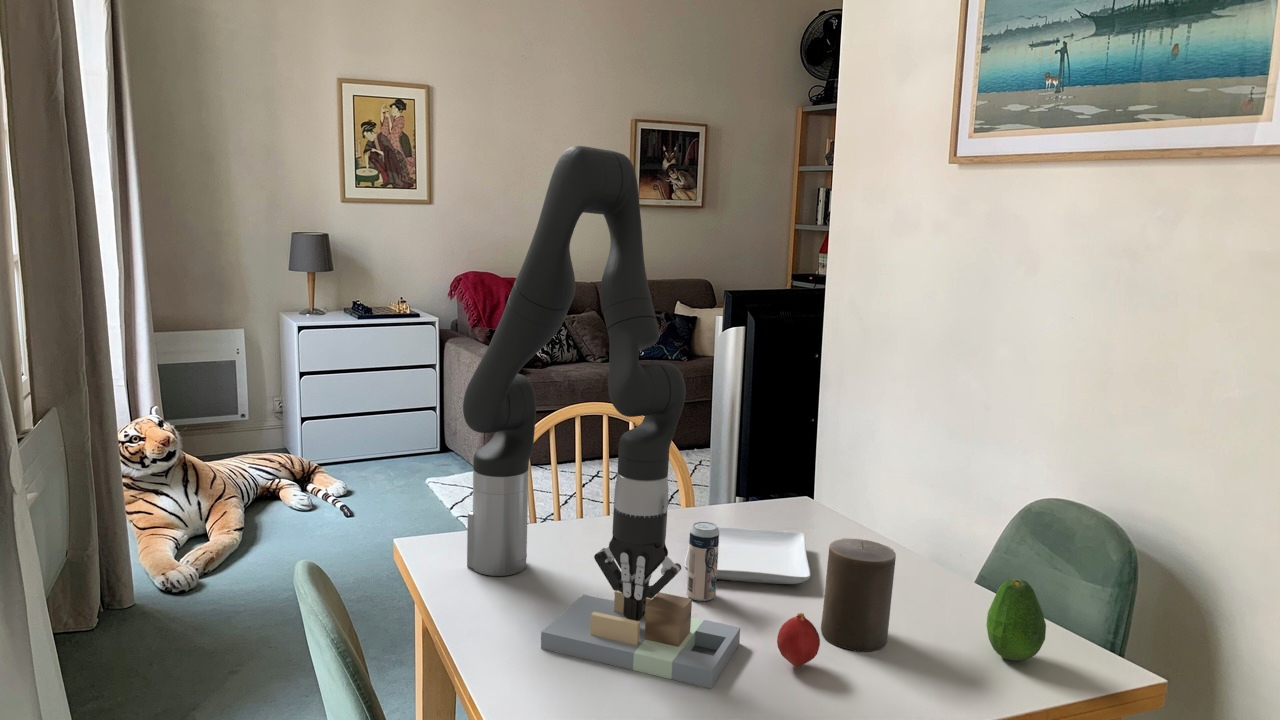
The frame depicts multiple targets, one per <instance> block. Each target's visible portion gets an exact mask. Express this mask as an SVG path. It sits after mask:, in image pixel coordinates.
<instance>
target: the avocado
mask: <svg viewBox="0 0 1280 720" xmlns="http://www.w3.org/2000/svg"><path fill="white" fill-rule="evenodd" d="M1041 607H1042V606H1041V605H1040V603H1039V600H1038V597H1037V594H1036V593H1035V590H1034V589H1033V588H1032V586H1031V585H1030V583H1029V582H1028V581H1026V580H1022V579H1019V578H1015V577H1014V578H1010V579H1008V580H1006V581H1004V582H1003V583H1002V584H1001V585H1000V586H999V588H998V589H997V591H996V593H995V596H994V598H993V601H992V602H991V605H990V606H989V609H988V611H987V616H986V617H987V619H986V630H987V631H986V632H987V636H988V637H987V638H988V641H989V642H990V645H991V647H992V649H993V650H994V651H995V653H997V655H999V656H1000V657H1002V658H1003V659H1005V660H1010V661H1016V662H1020V661H1026V660H1029V659H1031V658H1034V656H1035V655H1036V654H1038V652H1040V650H1041V648H1042V647H1043V645H1044V642H1045V641H1046V632H1047V624H1046V619H1045V618H1044V617H1045V616H1044V613H1043V610H1042V608H1041Z"/></svg>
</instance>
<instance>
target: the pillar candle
mask: <svg viewBox="0 0 1280 720" xmlns="http://www.w3.org/2000/svg"><path fill="white" fill-rule="evenodd" d="M828 545H829V547H828V555H827V556H828V557H827V568H826V576H825V588H824V597H823V608H822V614H821V622H820V623H821V624H820V631H821V635H822V637H823V638H824V639H825V640H826V641H828V642H829V643H830V644H832V645H835V646H837V647H839V648H843V649H846V650H849V651H854V652H874V651H877V650H881V649H883V648H885V647H886V645H887V642H888V637H889V636H888V635H889V628H890V627H889V626H890V619H891V618H890V617H891V608H892V607H891V606H892V597H893V589H894V579H895V577H894V575H895V568H896V567H895V566H896V558H897V557H896V556H897V554H896V552H895V551H894V550H895V549H893V548H891V547H890V546H889V545H885V544H882V543H880V542H877V541H873V540H868V539H863V538H862V539H861V538H850V537H849V538H848V537H844V538H840V539H836V540H833V541H831V542H830V544H828Z"/></svg>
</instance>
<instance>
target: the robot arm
mask: <svg viewBox="0 0 1280 720" xmlns="http://www.w3.org/2000/svg"><path fill="white" fill-rule="evenodd" d="M545 193H546V194H545V196H544V197H545V198H544V201H543V205H542V208H541V211H540V214H539V215H540V216H539V218H538V223H537V226H536V227H535V231H534V234H533V236H532V239H531V242H530V244H529V246H528V247H529V248H528V250H527V252H526V256H525V258H524V261H523V263H522V265H521V267H520V270H519V272H518V274H517V276H516V278H515V280H514V283H513V286H512V288H511V291H510V293H509V296H508V299H507V301H506V304H505V307H504V310H503V313H502V315H501V317H500V319H499V322H498V324H497V326H496V328H495V330H494V331H495V332H494V333H493V335H492V338H491V341H490V343H489V345H488V347H487V349H486V351H485V352H484V354H483V356H482V358H481V360H480V362H479V363H478V365H477V367H476V369H475V370H474V373H473V375H472V376H471V377H470V380H469V382H468V383H467V387H466V390H465V393H464V395H463V402H462V412H463V413H462V414H463V418H464V420H465V423H466V425H467V426H468V427H469V428H470V429H471V430H472V431H473V432H475V433H479V434H489V433H490V434H492V433H495V434H494V435H493V437H492V438H491V439H489V441H488V442H487V443H485V444H484V445H483V446H481V447H480V448H479V449H477V450H476V451H475V453H474V455H473V462H472V464H473V465H472V468H473V469H472V470H473V471H472V473H473V474H472V510H471V511H470V512H468V513H467V530H466V531H467V532H466V533H467V534H466V535H467V537H466V538H467V539H466V540H467V542H466V543H467V544H466V546H467V547H466V567H467V568H471V569H473V570H474V571H475V572H477V573H478V574H482V575H484V576H493V577H494V576H495V577H502V576H503V577H504V576H510V575H511V576H512V575H516V574H519V573H520V572H522V571H524V570H525V569H526V567H527V556H528V553H527V547H528V546H527V545H528V513H529V512H528V511H529V510H528V508H529V469H530V467H529V465H530V461H531V457H532V455H533V452H534V446H535V445H534V444H535V443H534V442H535V429H536V420H537V419H536V417H537V400H536V393H535V390H534V387H533V384H532V383H531V381H530V379H528V378H527V377H526V376H525V375H523V374H520V373H519V372H520V371H521V369H522V368H523V367H524V366H525V365H526V364H527V363H528V362H529V361H530V360H532V358H533V357H534V356H535V355H537V354H538V353H539V352H540V351H541V350H542V349H543V348H544V347H545V346H547V344H548V343H550V341H551V340H552V339H553V338H554V337H555V335H557V333H558V332H559V330H560V329H561V327H562V326H563V325H562V324H563V323H564V321H565V318H566V316H567V314H568V311H569V309H570V308H571V305H572V303H573V301H574V298H575V293H576V278H575V277H576V276H575V272H574V266H573V262H572V256H571V251H570V250H571V247H570V246H571V240H572V238H573V235H574V231H575V227H576V225H577V223H578V221H579V220H580V217H581V215H583V213H586V214H596V215H603V218H604V219H605V222H606V225H607V228H608V231H609V236H610V237H609V238H610V245H609V246H610V247H609V253H608V257H607V260H606V264H605V268H604V270H603V274H602V277H601V282H600V292H599V294H600V302H601V308H602V309H601V310H602V313H603V314H602V315H603V318H604V323H605V327H606V331H607V335H608V339H609V343H608V344H609V349H608V350H609V354H608V355H609V357H608V358H609V360H608V361H609V362H608V363H609V365H608V377H607V378H608V379H607V380H608V381H607V389H608V397H609V400H610V401H611V404H612V406H613V407H614V408H615V410H616V411H617V412H618V413H619V414H621V415H622V416H624V417H628V418H632V417H633V418H635V417H643V416H644V417H643V420H642V422H641V423H640V424H639V425H637V426H636V427H634V428H631V429H629V430H627V431H625V432H624V433H622V435H620V438H619V442H618V453H617V455H618V457H617V472H616V480H615V484H614V498H613V500H614V501H613V512H612V513H613V516H612V532H611V533H612V537H611V539H610V541H609V543H608V547H603V548H602V549H600V550H599V551H598V552H596V553H595V554H594V556H593V559H594V561H595V562H596V564H597V565H598V567H599V569H600V571H601V572H602V574H603V575H604V577H605V579H606V580H607V582H608V583H609V585H610V587H611V588H612V590H613V591H614V592H615V591H620V592H621V593H623V595H624V610H623V614H624V617H627V619H630V620H635V621H639V620H641V619H642V618H643V617H644V615H645V609H646V598H650V599H652V598H653V597H655V596H656V595H657V594H658V593H659V592H661V590H663V589H664V588H665V586H667V585H668V584H669V583H670V582H671V581H672V580H673V579H674V578H675V577H676V576H677V574H679V573H680V572H681V570H682V565H681V564H680V563H677V562H676V563H675V562H673V561H672V559H671V558H670V557H669V556H668V554H669V551H668V547H667V546H666V537H667V526H668V525H667V523H668V521H667V520H668V508H669V502H670V499H669V466H670V465H669V463H670V462H669V461H670V447H671V444H672V441H673V438H674V436H675V432H676V429H677V427H678V424H679V421H680V418H681V415H682V412H683V409H684V405H685V401H686V394H687V393H686V392H687V390H686V389H687V388H686V383H685V379H684V376H683V373H682V371H681V370H680V369H679V368H678V367H677V365H675V364H673V363H670V362H653V363H651V362H650V363H640V361H639V360H640V359H639V357H640V356H639V355H640V351H643V350H646V349H648V348H651V347H652V346H654V345H655V344H657V342H658V341H659V339H660V328H659V324H658V320H657V316H656V311H655V308H654V304H653V299H652V295H651V291H650V288H649V284H648V283H649V282H648V278H647V277H648V276H647V272H646V266H645V265H646V264H645V256H644V255H645V254H644V242H643V229H642V221H641V220H642V217H641V216H642V215H641V206H640V205H641V204H640V194H639V193H640V192H639V184H638V179H637V174H636V171H635V167H634V164H633V163H632V161H631V160H630V158H629V157H627V156H626V155H625V154H623V153H622V152H618V151H616V150H615V151H614V150H610V149H609V150H608V149H603V148H596V147H591V146H583V145H573V146H570V147H568V148H567V149H565V150H564V151H563V152H562V153H561V155H560V156H559V159H558V160H557V161H556V164H555V167H554V169H553V171H552V175H551V177H550V180H549V184H548V187H547V191H546V192H545ZM661 565H662V567H661V569H660V573H661V577H659V579H658V580H657V581H655V582H654V583H653V584H652V585H650V580H651V578H652V575H653V573H654V572H656V570H657V569H658V567H660V566H661Z"/></svg>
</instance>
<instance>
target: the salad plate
mask: <svg viewBox="0 0 1280 720" xmlns="http://www.w3.org/2000/svg"><path fill="white" fill-rule="evenodd" d="M717 527H718V530H719V532H720V533H719V548H718V564H717V580H725V581H735V582H736V581H738V582H747V583H762V584H769V585H770V584H772V585H798V584H801V583H804V582H806V581H808V580H809V579H810V578H811V569H810V563H809V561H808V555H807V549H806V548H807V547H806V545H807V543H806V536H805V534H804V533H803V532H797V531H786V530H785V531H784V530H773V529H772V530H771V529H769V530H768V529H759V528H758V529H757V528H745V527H744V528H743V527H729V526H728V527H726V526H722V527H721V526H717ZM691 528H692V526H691ZM691 528H690V529H691ZM689 539H690V537H689ZM688 557H689V545H688V547H687V552H686V555H685V559H684V563H683V565H684V568H685V570H686V571H687V572H688Z"/></svg>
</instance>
